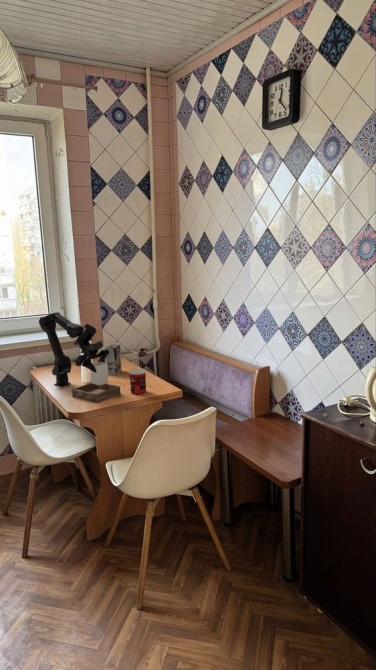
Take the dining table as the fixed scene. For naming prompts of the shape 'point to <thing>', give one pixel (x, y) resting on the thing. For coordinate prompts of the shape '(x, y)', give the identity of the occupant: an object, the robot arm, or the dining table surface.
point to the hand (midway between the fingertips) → (101, 370)
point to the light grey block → (100, 373)
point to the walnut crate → (96, 392)
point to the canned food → (138, 382)
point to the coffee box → (114, 359)
